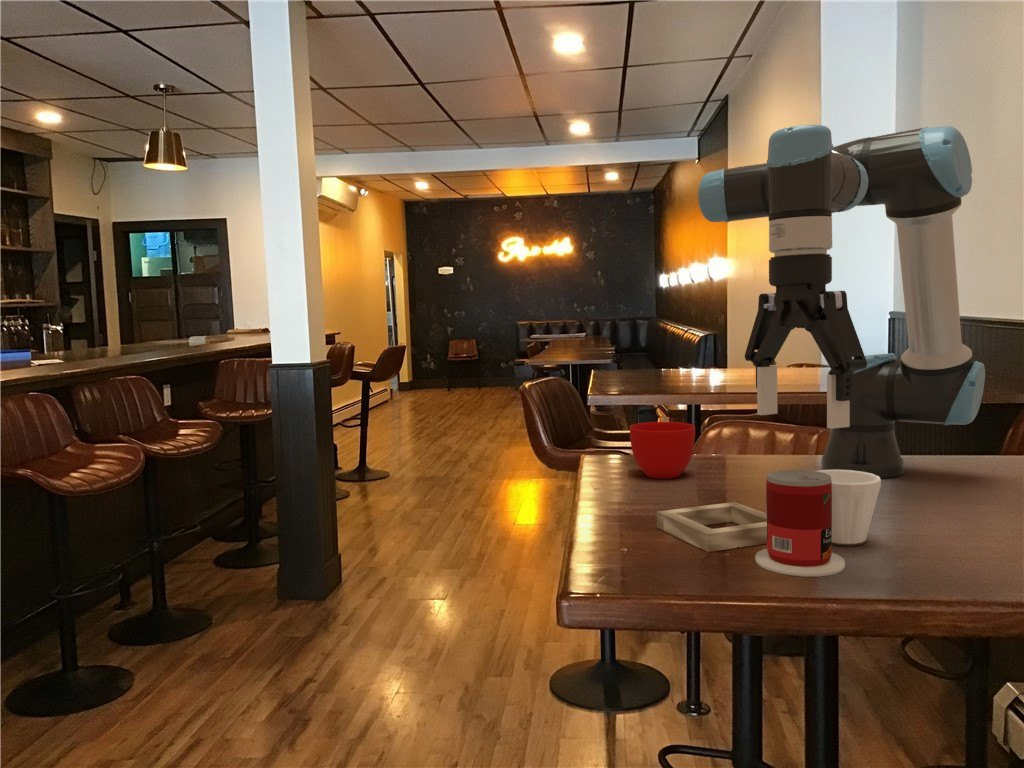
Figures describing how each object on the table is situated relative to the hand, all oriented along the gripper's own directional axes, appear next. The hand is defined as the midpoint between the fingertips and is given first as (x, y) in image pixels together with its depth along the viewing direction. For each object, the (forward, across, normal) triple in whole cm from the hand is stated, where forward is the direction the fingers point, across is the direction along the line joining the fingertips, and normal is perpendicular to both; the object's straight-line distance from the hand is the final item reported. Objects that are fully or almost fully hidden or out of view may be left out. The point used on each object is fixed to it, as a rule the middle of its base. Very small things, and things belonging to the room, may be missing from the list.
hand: (800, 420), depth 104 cm
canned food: (+18, 0, -1) cm, 18 cm away
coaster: (+19, 0, -1) cm, 19 cm away
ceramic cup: (+20, -58, +13) cm, 62 cm away
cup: (+19, -6, +12) cm, 23 cm away
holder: (+19, -16, -2) cm, 25 cm away
